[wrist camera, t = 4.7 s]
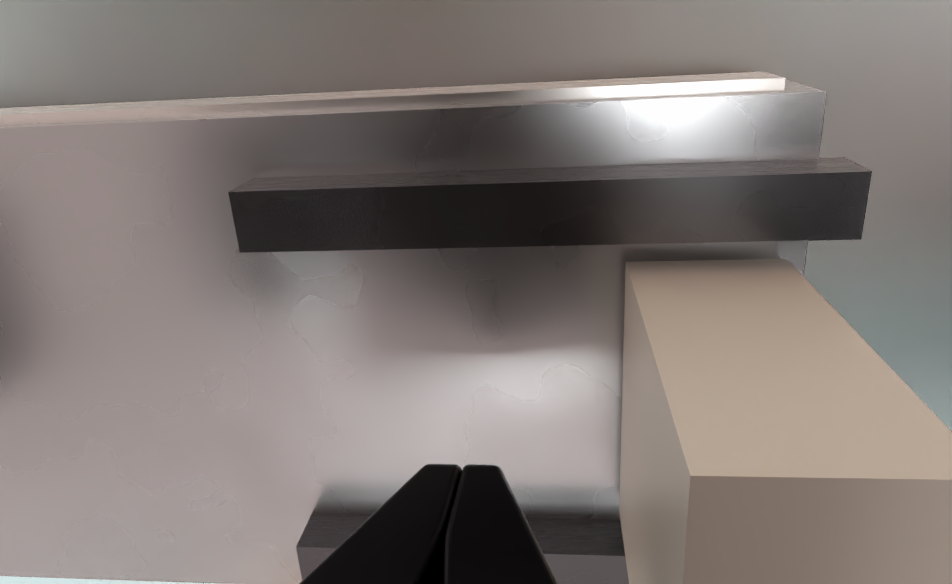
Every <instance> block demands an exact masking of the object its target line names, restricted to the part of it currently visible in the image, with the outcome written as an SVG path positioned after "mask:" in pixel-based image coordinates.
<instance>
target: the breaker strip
mask: <svg viewBox="0 0 952 584" xmlns="http://www.w3.org/2000/svg"><path fill="white" fill-rule="evenodd" d="M785 79H786V78H784V77H781V76H777V75H773V74H770V73H766V72H763V71H761V72H741V73H720V74H699V75H678V76H657V77H637V78H616V79H595V80H574V81H553V82H532V83H512V84H491V85H470V86H449V87H428V88H408V89H387V90H366V91H345V92H324V93H303V94H283V95H262V96H241V97H220V98H199V99H179V100H158V101H137V102H116V103H95V104H75V105H54V106H33V107H12V108H0V576H19V577H48V578H77V579H106V580H135V581H164V582H193V583H222V584H299V583H300V582H301V581H302V580H303V579H304V578H305V577H307V576H308V575H309V574H310V573H311V572H312V571H313V570H314V569H315V568H316V567H317V566H318V565H319V564H320V563H321V562H322V561H323V560H325V559H326V558H327V557H328V556H329V555H330V554H331V553H332V552H333V551H334V550H335V549H336V548H337V547H338V546H339V545H340V544H341V543H343V542H344V541H345V540H346V539H347V538H348V537H349V536H350V535H351V534H352V533H353V532H354V531H355V530H356V529H357V528H358V527H359V526H361V525H362V524H363V523H364V522H365V521H366V520H367V519H368V518H369V517H370V516H371V515H372V514H373V513H374V512H375V511H376V510H377V509H379V508H380V507H381V506H382V505H383V504H384V503H385V502H386V501H387V500H388V499H389V498H390V497H391V496H392V495H393V494H394V493H395V492H397V491H398V490H399V489H400V488H401V487H402V486H403V485H404V484H405V483H406V482H407V481H408V480H409V479H410V478H411V477H412V476H413V475H414V474H416V473H417V472H418V471H419V470H420V469H421V468H422V467H423V466H425V465H427V464H458V465H459V466H461V468H462V469H463V467H464V466H466V465H468V464H490V465H498V466H499V467H500V468H501V469H502V471H503V473H504V475H505V477H506V479H507V481H508V483H509V485H510V487H511V489H512V492H513V494H514V496H515V498H516V500H517V502H518V504H519V506H520V508H521V510H522V512H523V514H524V516H525V518H526V520H527V522H528V524H529V526H530V528H531V530H532V532H533V534H534V536H535V538H536V540H537V542H538V544H539V546H540V548H541V550H542V553H543V555H544V557H545V559H546V561H547V563H548V565H549V567H550V569H551V571H552V573H553V575H554V577H555V579H556V581H557V583H558V584H629V579H628V572H627V565H626V557H625V550H624V543H623V536H622V529H621V521H620V514H619V497H620V459H621V421H622V383H623V345H624V307H625V269H626V262H637V261H690V260H743V259H787V260H788V261H789V262H790V263H791V264H792V265H793V266H794V267H795V268H796V269H797V270H798V271H799V272H800V273H801V275H802V276H804V268H805V260H806V252H807V244H808V240H852V239H861V237H862V231H863V224H864V218H865V212H866V205H867V199H868V192H869V186H870V180H871V173H872V171H870V170H868V169H866V168H864V167H862V166H860V165H858V164H856V163H854V162H852V161H850V160H848V159H846V158H819V150H820V143H821V135H822V127H823V119H824V111H825V103H826V96H827V91H823V90H820V89H816V88H813V87H809V86H806V85H803V84H799V83H796V82H792V81H789V80H785Z"/></svg>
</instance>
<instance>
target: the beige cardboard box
mask: <svg viewBox="0 0 952 584" xmlns="http://www.w3.org/2000/svg"><path fill="white" fill-rule="evenodd" d="M619 514H620V521H621V529H622V536H623V543H624V550H625V557H626V565H627V572H628V579H629V584H952V431H951V430H950V429H949V428H948V427H947V426H946V425H945V424H944V423H943V422H942V421H941V420H940V419H939V418H938V417H937V416H936V415H935V414H934V413H933V412H932V410H931V409H930V408H929V407H928V406H927V405H926V404H925V403H924V402H923V401H922V400H921V399H920V398H919V397H918V396H917V395H916V394H915V393H914V392H913V391H912V390H911V389H910V387H909V386H908V385H907V384H906V383H905V382H904V381H903V380H902V379H901V378H900V377H899V376H898V375H897V374H896V373H895V372H894V371H893V370H892V369H891V368H890V367H889V365H888V364H887V363H886V362H885V361H884V360H883V359H882V358H881V357H880V356H879V355H878V354H877V353H876V352H875V351H874V350H873V349H872V348H871V347H870V346H869V345H868V344H867V342H866V341H865V340H864V339H863V338H862V337H861V336H860V335H859V334H858V333H857V332H856V331H855V330H854V329H853V328H852V327H851V326H850V325H849V324H848V323H847V322H846V321H845V319H844V318H843V317H842V316H841V315H840V314H839V313H838V312H837V311H836V310H835V309H834V308H833V307H832V306H831V305H830V304H829V303H828V302H827V301H826V300H825V299H824V298H823V296H822V295H821V294H820V293H819V292H818V291H817V290H816V289H815V288H814V287H813V286H812V285H811V284H810V283H809V282H808V281H807V280H806V279H805V278H804V277H803V276H802V275H801V273H800V272H799V271H798V270H797V269H796V268H795V267H794V266H793V265H792V264H791V263H790V262H789V261H788V260H787V259H743V260H690V261H637V262H626V269H625V307H624V345H623V383H622V421H621V459H620V497H619Z"/></svg>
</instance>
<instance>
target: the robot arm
mask: <svg viewBox="0 0 952 584" xmlns="http://www.w3.org/2000/svg"><path fill="white" fill-rule="evenodd" d="M299 584H558V583H557V581H556V579H555V577H554V575H553V573H552V571H551V569H550V567H549V565H548V563H547V561H546V559H545V557H544V555H543V553H542V550H541V548H540V546H539V544H538V542H537V540H536V538H535V536H534V534H533V532H532V530H531V528H530V526H529V524H528V522H527V520H526V518H525V516H524V514H523V512H522V510H521V508H520V506H519V504H518V502H517V500H516V498H515V496H514V494H513V492H512V489H511V487H510V485H509V483H508V481H507V479H506V477H505V475H504V473H503V471H502V469H501V468H500V467H499V466H498V465H490V464H468V465H466V466H464V467H463V469H462V468H461V466H459V465H458V464H427V465H425V466H423V467H422V468H421V469H420V470H419V471H418V472H417V473H416V474H414V475H413V476H412V477H411V478H410V479H409V480H408V481H407V482H406V483H405V484H404V485H403V486H402V487H401V488H400V489H399V490H398V491H397V492H395V493H394V494H393V495H392V496H391V497H390V498H389V499H388V500H387V501H386V502H385V503H384V504H383V505H382V506H381V507H380V508H379V509H377V510H376V511H375V512H374V513H373V514H372V515H371V516H370V517H369V518H368V519H367V520H366V521H365V522H364V523H363V524H362V525H361V526H359V527H358V528H357V529H356V530H355V531H354V532H353V533H352V534H351V535H350V536H349V537H348V538H347V539H346V540H345V541H344V542H343V543H341V544H340V545H339V546H338V547H337V548H336V549H335V550H334V551H333V552H332V553H331V554H330V555H329V556H328V557H327V558H326V559H325V560H323V561H322V562H321V563H320V564H319V565H318V566H317V567H316V568H315V569H314V570H313V571H312V572H311V573H310V574H309V575H308V576H307V577H305V578H304V579H303V580H302V581H301V582H300V583H299Z"/></svg>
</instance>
